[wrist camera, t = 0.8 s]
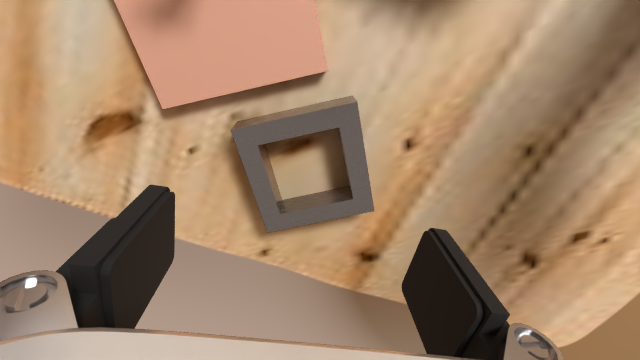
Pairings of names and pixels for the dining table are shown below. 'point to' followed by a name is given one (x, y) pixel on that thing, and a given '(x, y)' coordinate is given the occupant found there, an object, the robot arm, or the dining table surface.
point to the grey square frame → (294, 124)
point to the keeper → (222, 44)
